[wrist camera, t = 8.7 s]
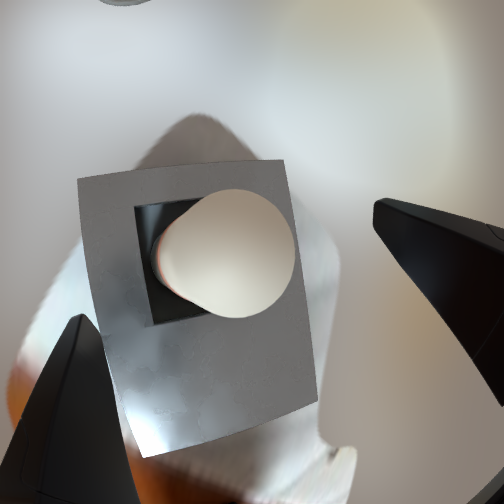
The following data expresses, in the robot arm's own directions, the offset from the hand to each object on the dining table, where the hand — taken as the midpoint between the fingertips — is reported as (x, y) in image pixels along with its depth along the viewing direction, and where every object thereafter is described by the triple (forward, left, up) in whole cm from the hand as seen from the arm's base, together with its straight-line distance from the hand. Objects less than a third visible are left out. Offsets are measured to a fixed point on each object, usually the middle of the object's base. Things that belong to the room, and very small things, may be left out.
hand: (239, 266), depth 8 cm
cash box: (-3, -1, -12) cm, 12 cm away
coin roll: (0, -1, -12) cm, 12 cm away
